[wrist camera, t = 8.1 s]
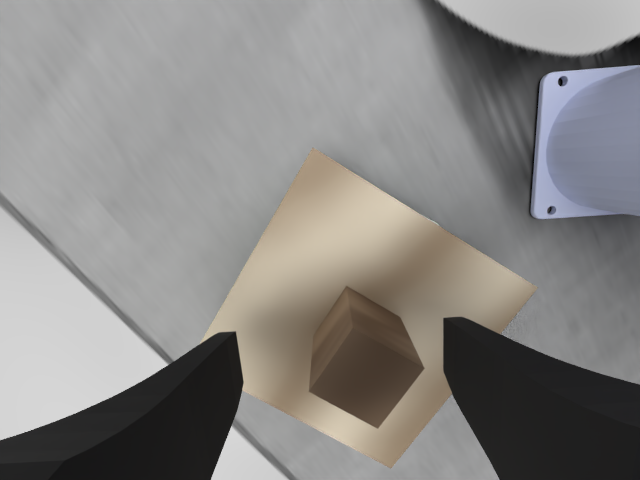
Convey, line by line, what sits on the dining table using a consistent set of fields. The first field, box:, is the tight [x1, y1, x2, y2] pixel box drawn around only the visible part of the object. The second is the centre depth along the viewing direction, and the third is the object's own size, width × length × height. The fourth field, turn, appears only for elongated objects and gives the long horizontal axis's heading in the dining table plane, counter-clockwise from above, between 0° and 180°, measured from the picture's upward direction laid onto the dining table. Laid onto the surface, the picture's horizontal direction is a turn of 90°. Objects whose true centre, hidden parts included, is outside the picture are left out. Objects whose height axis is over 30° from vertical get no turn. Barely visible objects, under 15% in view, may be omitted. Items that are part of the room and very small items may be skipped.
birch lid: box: [200, 148, 538, 468], centre depth 14 cm, size 12×12×5 cm
